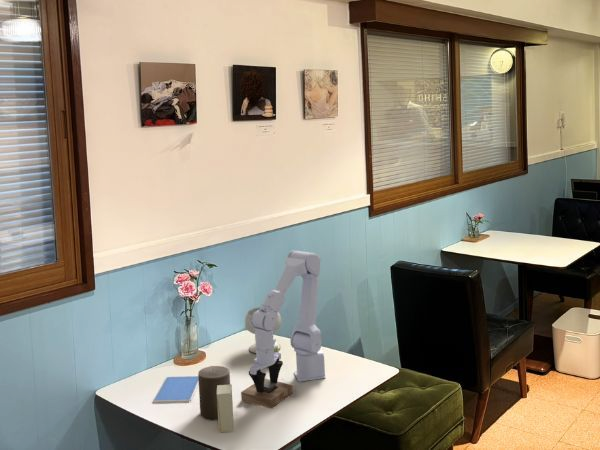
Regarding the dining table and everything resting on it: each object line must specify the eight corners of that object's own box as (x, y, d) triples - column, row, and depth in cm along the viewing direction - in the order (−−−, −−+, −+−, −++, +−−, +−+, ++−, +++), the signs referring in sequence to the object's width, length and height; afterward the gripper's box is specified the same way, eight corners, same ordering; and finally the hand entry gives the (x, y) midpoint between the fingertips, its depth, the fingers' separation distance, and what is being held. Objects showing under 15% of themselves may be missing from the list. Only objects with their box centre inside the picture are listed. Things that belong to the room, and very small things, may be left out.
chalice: (290, 347, 255) (288, 310, 252) (264, 358, 245) (261, 320, 242) (265, 339, 264) (263, 303, 261) (239, 350, 254) (236, 313, 251)
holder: (263, 386, 221) (262, 378, 220) (293, 393, 214) (292, 385, 214) (241, 400, 211) (241, 392, 210) (272, 408, 205) (271, 399, 204)
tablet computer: (166, 379, 231) (166, 376, 231) (202, 378, 231) (201, 375, 231) (152, 404, 212) (152, 401, 212) (191, 403, 212) (190, 400, 212)
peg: (265, 393, 216) (264, 380, 215) (275, 396, 214) (274, 382, 213) (258, 398, 212) (257, 385, 212) (268, 401, 210) (267, 387, 209)
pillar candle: (205, 423, 197) (202, 376, 194) (196, 410, 206) (194, 364, 203) (236, 416, 201) (234, 370, 198) (226, 403, 210) (224, 359, 207)
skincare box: (219, 422, 197) (216, 384, 195) (234, 421, 198) (231, 383, 195) (218, 433, 191) (215, 394, 189) (234, 431, 191) (231, 392, 189)
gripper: (267, 338, 218) (269, 376, 220) (240, 353, 206) (243, 393, 208) (285, 341, 214) (287, 380, 216) (259, 356, 202) (261, 398, 205)
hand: (267, 387), depth 212 cm, fingers open, 7 cm apart
